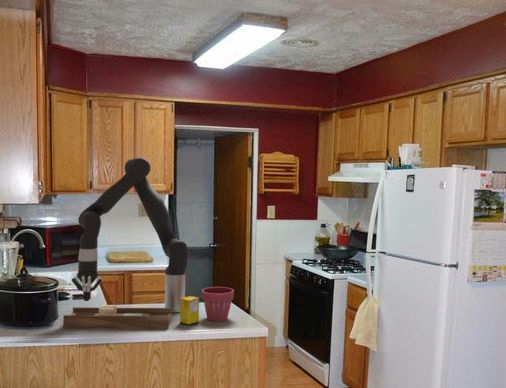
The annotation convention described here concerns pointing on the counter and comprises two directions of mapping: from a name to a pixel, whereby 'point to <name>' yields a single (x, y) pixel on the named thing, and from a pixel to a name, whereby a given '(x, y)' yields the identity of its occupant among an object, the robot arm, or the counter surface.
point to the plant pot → (217, 302)
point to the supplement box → (189, 310)
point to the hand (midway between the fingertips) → (86, 300)
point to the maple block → (107, 310)
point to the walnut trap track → (119, 318)
